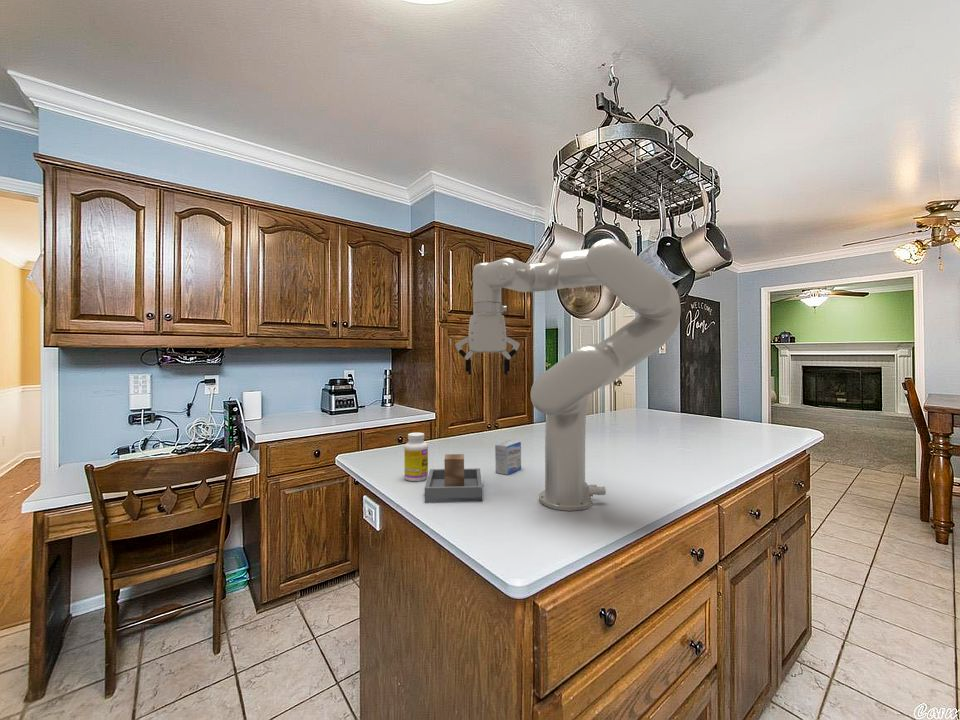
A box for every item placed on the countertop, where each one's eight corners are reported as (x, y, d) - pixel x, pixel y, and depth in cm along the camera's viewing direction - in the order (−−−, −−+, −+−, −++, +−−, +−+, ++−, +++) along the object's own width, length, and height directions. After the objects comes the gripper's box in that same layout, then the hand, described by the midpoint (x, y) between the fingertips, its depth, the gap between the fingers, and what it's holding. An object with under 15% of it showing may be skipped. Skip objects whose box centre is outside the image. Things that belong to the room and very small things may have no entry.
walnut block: (464, 483, 111) (463, 454, 110) (464, 490, 106) (464, 459, 105) (445, 484, 110) (445, 454, 110) (444, 490, 105) (444, 459, 105)
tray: (480, 480, 116) (480, 468, 116) (482, 501, 100) (482, 487, 100) (430, 481, 116) (430, 469, 116) (424, 502, 100) (424, 488, 100)
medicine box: (507, 475, 121) (507, 446, 121) (495, 472, 124) (494, 444, 124) (521, 469, 127) (521, 441, 127) (509, 466, 130) (509, 439, 130)
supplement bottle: (424, 482, 115) (423, 436, 115) (401, 481, 116) (400, 436, 116) (430, 475, 121) (430, 432, 121) (409, 474, 123) (408, 431, 122)
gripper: (517, 311, 114) (517, 373, 115) (455, 311, 114) (455, 373, 114) (521, 309, 107) (521, 375, 107) (454, 309, 106) (454, 375, 106)
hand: (487, 374), depth 111 cm, fingers open, 9 cm apart
